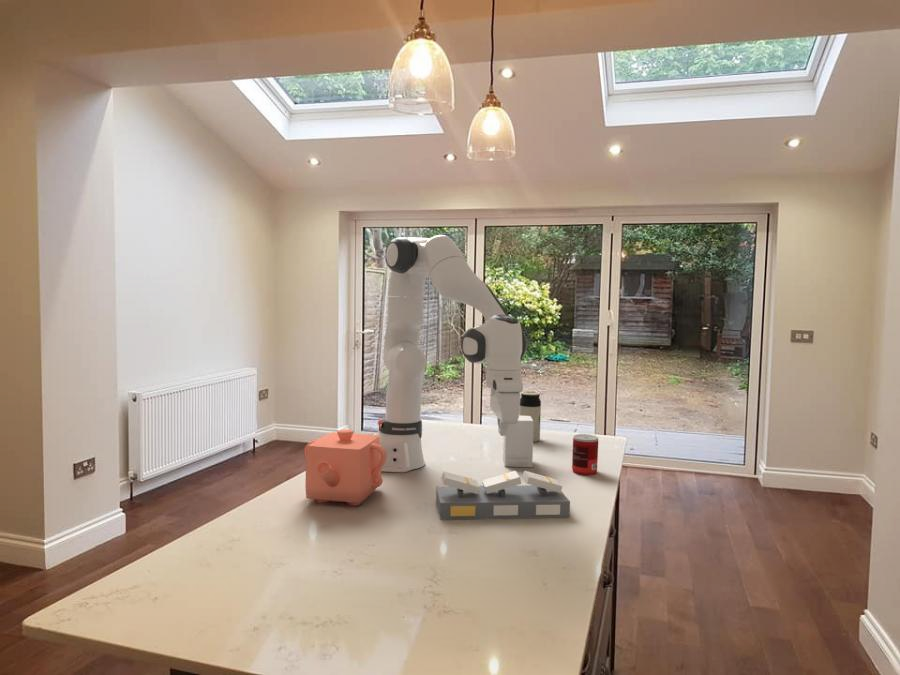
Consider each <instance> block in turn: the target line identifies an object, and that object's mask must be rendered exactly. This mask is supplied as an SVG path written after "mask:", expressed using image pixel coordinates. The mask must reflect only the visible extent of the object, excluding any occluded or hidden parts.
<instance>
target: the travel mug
mask: <svg viewBox="0 0 900 675" xmlns="http://www.w3.org/2000/svg"><path fill="white" fill-rule="evenodd" d="M540 395H541V392H539V391H536V390H523V392H520V409H519V416H531V418H532V420H533V421H534V429H533V443H536V442H538V441H540V440H541V416H542V414H541V413H542V410H541V408H542V401H541V399H540Z"/></svg>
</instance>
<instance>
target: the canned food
mask: <svg viewBox="0 0 900 675" xmlns="http://www.w3.org/2000/svg"><path fill="white" fill-rule="evenodd" d="M571 455H572V458H571V459H572V462H571V469H572V472H573V473H574V474H577V475H581V476H593V475H596V474H597V473H598V472H597V471H598V462H599V461H598V460H599V456H598V455H599V437H598V436H597V435H594V434H586V433H585V434H584V433H581V434H580V433H579V434H575V435H573V437H572V454H571Z"/></svg>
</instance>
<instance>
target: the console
mask: <svg viewBox="0 0 900 675" xmlns="http://www.w3.org/2000/svg"><path fill="white" fill-rule="evenodd" d="M479 487H480V488H479V491H478V494H475V493H472V492H468V491H465V490H461V489H457V488H454V487H450V486H447V485H444V486H443V485H442V486H436V488H435V502H436V507H437V512H438V515H439V520H472V519H473V520H474V519H475V520H476V519H477V520H478V519H482V518H483V519H482V520H484V519H485V518H486V519H534V518H535V519H540V518H541V519H543V518H548V519H549V518H550V519H551V518H570V515H571V512H570V511H571V501H570V500H569V499H568V497H567V496H566V494H564V492H563V491H562V490H561V493H559V492H555V491H551V490H548V489H544V488H541V487H537V486H533V485H530V484H527V485H523V484H519V485H516V486H512V487H509V488H505V489H502V490H499V491H495V492H492V493H488V494H487V493H486V491H485V489H484V486H483V485H479Z"/></svg>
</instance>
